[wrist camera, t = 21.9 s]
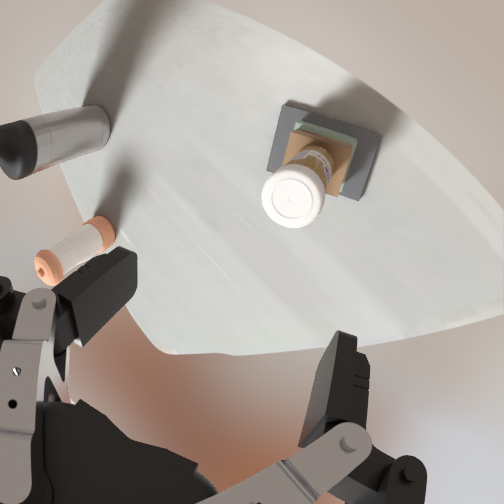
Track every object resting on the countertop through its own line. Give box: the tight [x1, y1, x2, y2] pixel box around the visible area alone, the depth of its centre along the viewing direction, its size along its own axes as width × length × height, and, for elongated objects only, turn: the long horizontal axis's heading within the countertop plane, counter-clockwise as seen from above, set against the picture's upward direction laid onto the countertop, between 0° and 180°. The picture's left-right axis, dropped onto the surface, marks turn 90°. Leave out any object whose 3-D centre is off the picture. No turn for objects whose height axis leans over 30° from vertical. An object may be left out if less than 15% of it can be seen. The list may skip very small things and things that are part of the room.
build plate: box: [266, 105, 381, 201], centre depth 40 cm, size 14×10×5 cm
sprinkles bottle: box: [262, 146, 334, 228], centre depth 28 cm, size 5×5×14 cm
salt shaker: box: [35, 216, 115, 286], centre depth 54 cm, size 7×7×19 cm
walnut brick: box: [282, 129, 352, 197], centre depth 35 cm, size 7×6×5 cm
